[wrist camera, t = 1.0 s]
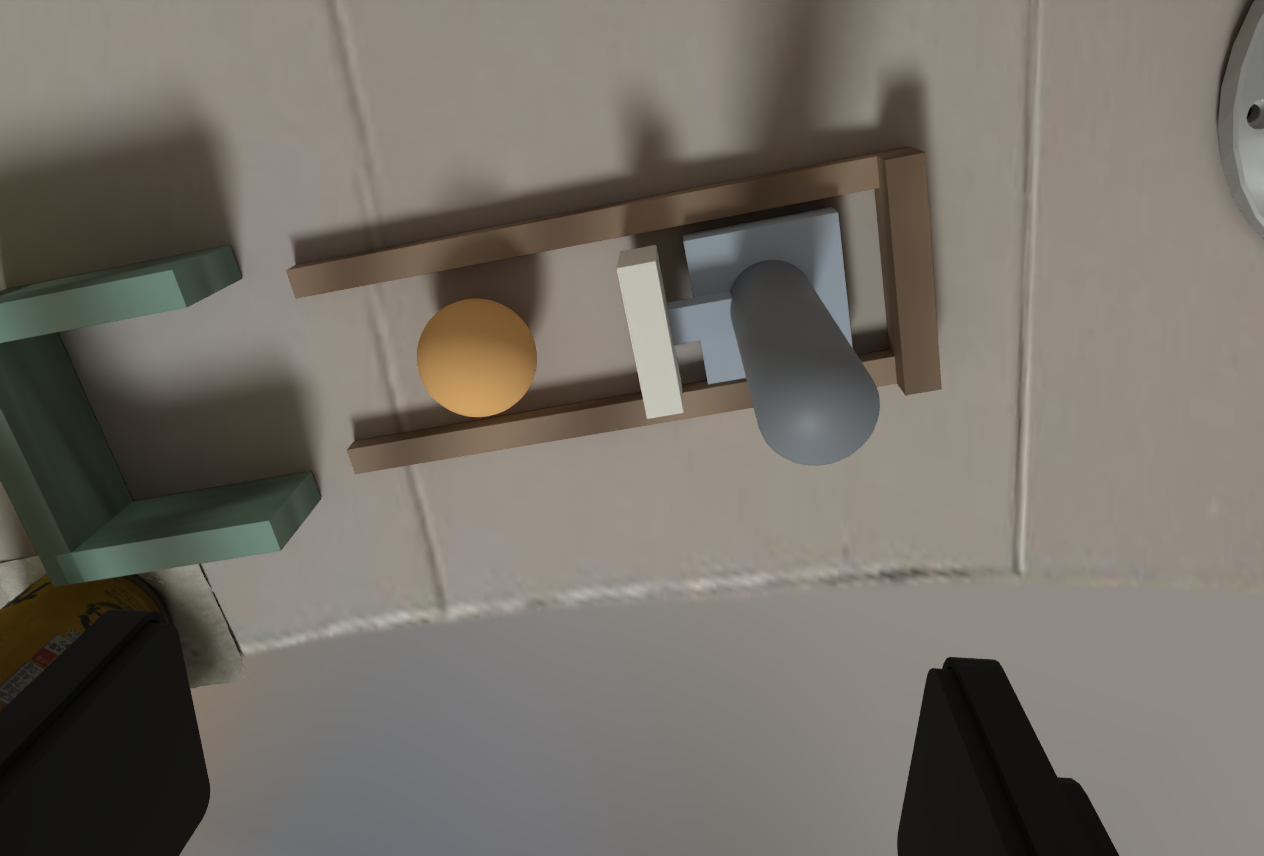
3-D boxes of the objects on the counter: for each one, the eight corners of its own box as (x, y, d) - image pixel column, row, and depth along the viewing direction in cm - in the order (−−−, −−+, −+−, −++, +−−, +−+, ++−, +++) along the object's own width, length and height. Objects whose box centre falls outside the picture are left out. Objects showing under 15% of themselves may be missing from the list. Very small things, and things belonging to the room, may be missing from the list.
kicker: (831, 206, 30) (919, 284, 20) (847, 348, 32) (935, 489, 21) (621, 246, 31) (599, 341, 20) (648, 382, 32) (641, 534, 22)
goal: (230, 245, 31) (172, 269, 28) (321, 498, 35) (280, 551, 31) (5, 289, 32) (-81, 319, 29) (116, 532, 36) (53, 586, 32)
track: (908, 146, 29) (924, 152, 28) (925, 370, 32) (941, 389, 30) (294, 265, 32) (271, 277, 30) (361, 464, 34) (344, 488, 33)
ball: (529, 276, 31) (511, 305, 28) (554, 383, 33) (540, 424, 29) (419, 297, 32) (387, 328, 28) (449, 401, 33) (422, 444, 30)
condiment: (-8, 563, 37) (-299, 781, 26) (183, 525, 36) (-33, 735, 25) (72, 705, 39) (-160, 959, 28) (252, 673, 38) (85, 923, 27)
